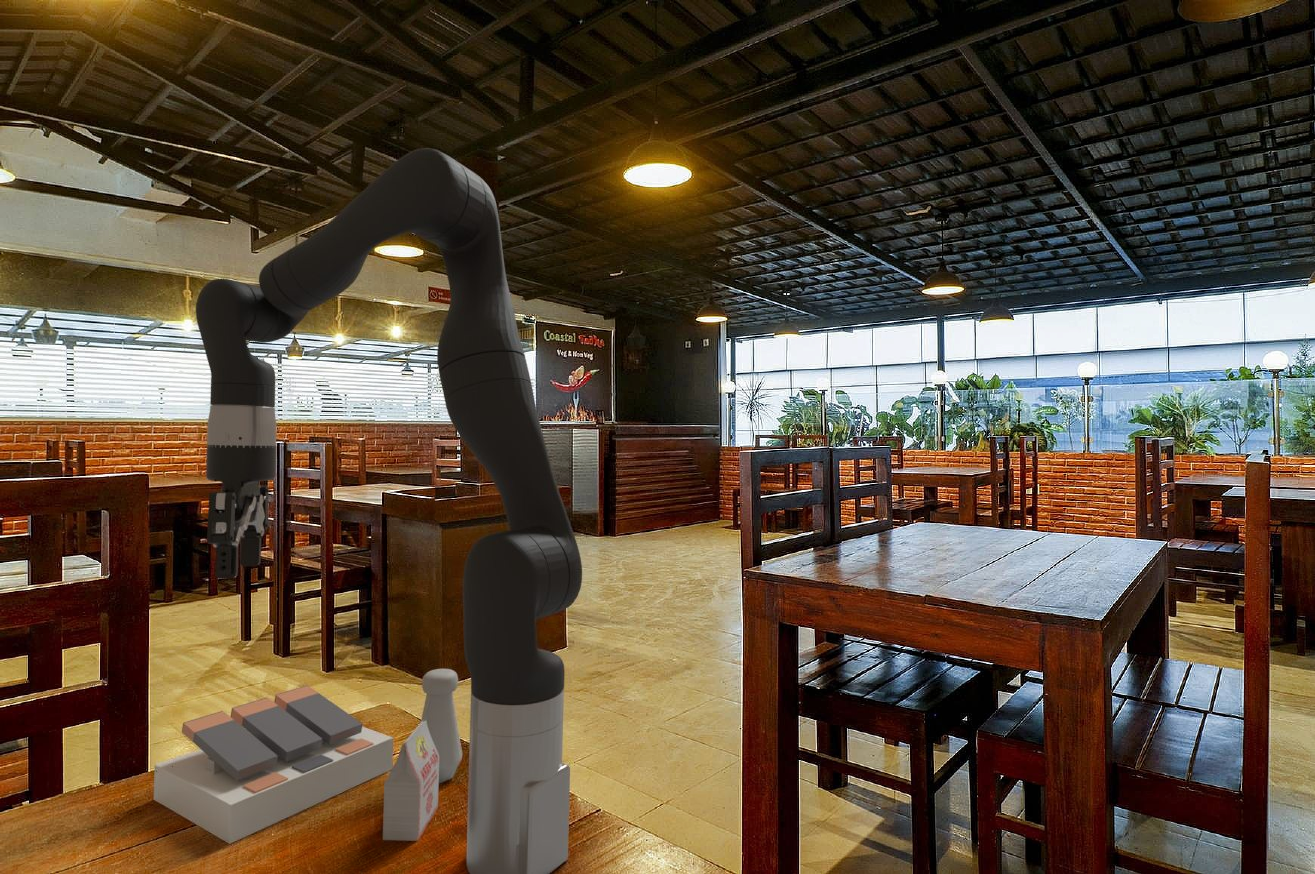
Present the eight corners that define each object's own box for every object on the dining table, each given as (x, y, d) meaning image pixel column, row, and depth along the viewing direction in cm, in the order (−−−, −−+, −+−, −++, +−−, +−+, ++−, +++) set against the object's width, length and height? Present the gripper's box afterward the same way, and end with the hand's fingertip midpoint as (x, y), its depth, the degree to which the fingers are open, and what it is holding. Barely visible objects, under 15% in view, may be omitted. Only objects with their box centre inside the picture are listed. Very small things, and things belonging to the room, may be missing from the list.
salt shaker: (453, 788, 86) (456, 680, 86) (406, 786, 86) (408, 678, 86) (467, 766, 92) (469, 665, 92) (423, 764, 92) (425, 663, 92)
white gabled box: (382, 840, 75) (385, 744, 75) (405, 806, 81) (408, 719, 82) (417, 841, 75) (420, 745, 75) (437, 807, 81) (440, 720, 82)
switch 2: (321, 748, 85) (322, 738, 85) (285, 762, 82) (287, 752, 81) (265, 706, 91) (267, 697, 91) (230, 717, 88) (231, 707, 88)
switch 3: (361, 732, 90) (362, 723, 90) (329, 745, 86) (330, 735, 86) (306, 693, 96) (307, 685, 96) (274, 703, 92) (275, 694, 92)
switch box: (392, 769, 90) (393, 726, 90) (229, 844, 73) (231, 791, 73) (315, 738, 99) (316, 699, 99) (153, 799, 81) (154, 752, 81)
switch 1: (276, 765, 81) (278, 755, 80) (236, 781, 77) (238, 770, 77) (221, 720, 87) (222, 710, 87) (181, 732, 83) (183, 722, 83)
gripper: (256, 443, 83) (253, 582, 83) (290, 442, 97) (287, 561, 97) (184, 442, 82) (181, 584, 82) (229, 441, 96) (226, 562, 95)
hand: (239, 571), depth 89 cm, fingers open, 8 cm apart
